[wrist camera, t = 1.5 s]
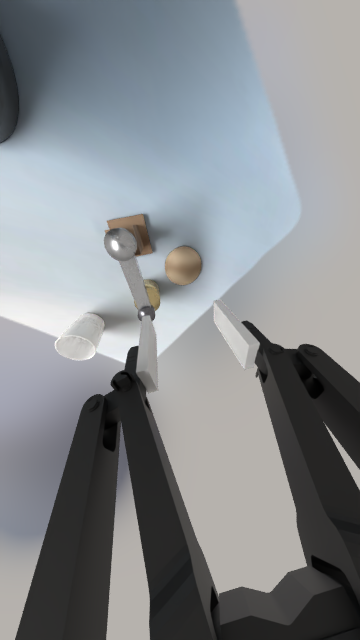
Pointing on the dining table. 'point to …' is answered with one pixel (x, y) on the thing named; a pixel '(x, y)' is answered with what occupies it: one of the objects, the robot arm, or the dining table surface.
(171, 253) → the coaster
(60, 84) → the dining table surface
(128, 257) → the lever
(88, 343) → the white cup
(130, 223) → the post
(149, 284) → the brass cylinder
